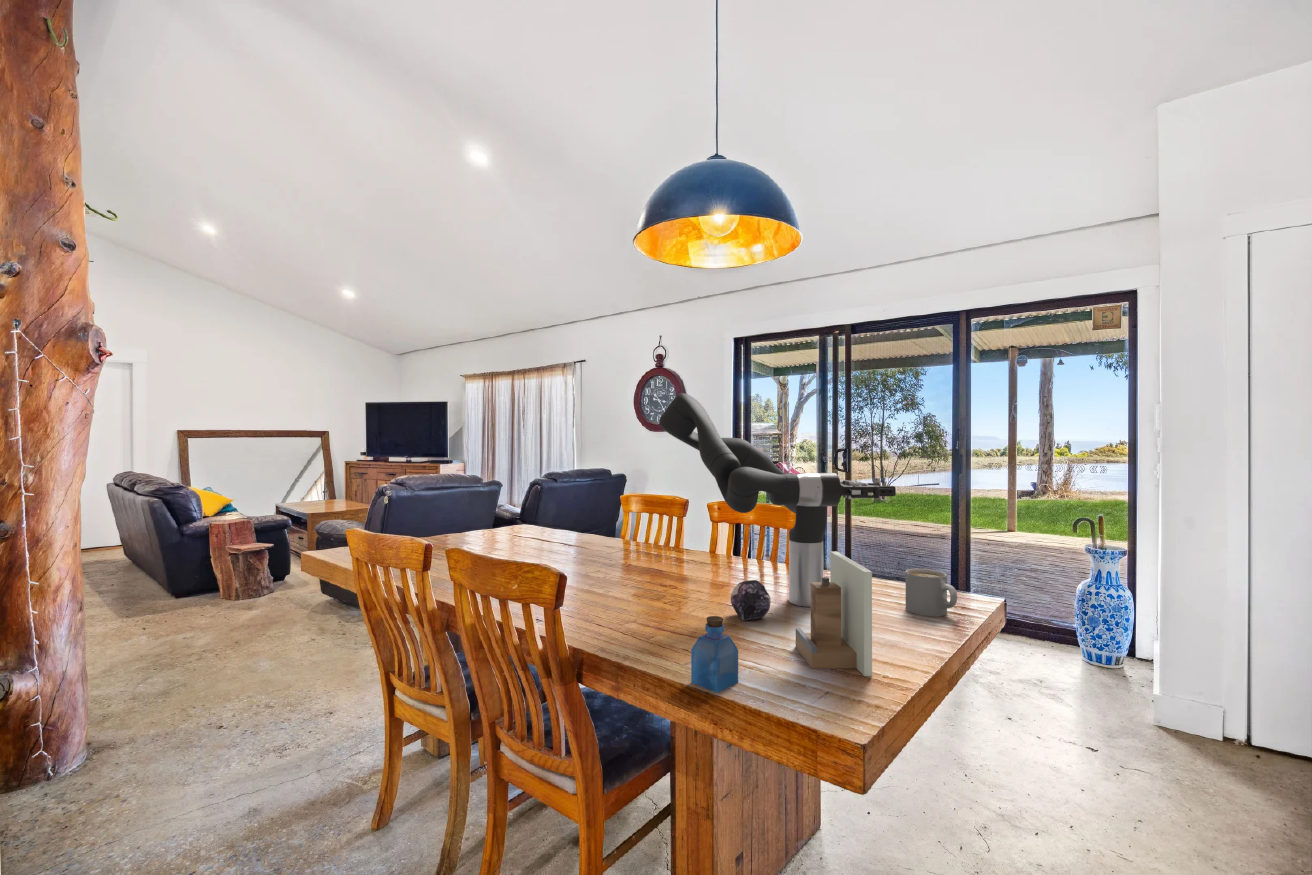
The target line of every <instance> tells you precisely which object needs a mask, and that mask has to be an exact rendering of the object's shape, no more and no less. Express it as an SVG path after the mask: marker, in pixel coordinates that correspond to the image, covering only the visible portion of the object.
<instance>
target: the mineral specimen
mask: <svg viewBox="0 0 1312 875" xmlns="http://www.w3.org/2000/svg"><path fill="white" fill-rule="evenodd" d="M771 603H772V601H771V596H770V594H769V592H768V591H767V589H766V587H765V586H764V584H763V583H761V581H759V580H758V579H755V580H754V579H753V580H744V581H741V582H738V583H737V585H736V586H734V588H733V590H732V592H731V594H730V604H731V607H732V608H733V610H734V611H735V614H737V616H738V618H739V619H740V620H742V621H743V622H744V621H752V620H753V621H754V620H758V619H759V620H760V619H762V618H764V617H765V616H766V615H767V614H768V612H769V611H770V609H771Z"/></svg>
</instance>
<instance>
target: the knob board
mask: <svg viewBox="0 0 1312 875" xmlns="http://www.w3.org/2000/svg"><path fill="white" fill-rule="evenodd" d="M810 633H811V640H812V641H813V642H814V644H815V645H816V646H841V587H840V586H838V585H837V584H836V583H834V582H830V577H828V576H823V577H822V582H811V607H810Z"/></svg>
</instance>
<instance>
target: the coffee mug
mask: <svg viewBox="0 0 1312 875" xmlns="http://www.w3.org/2000/svg"><path fill="white" fill-rule="evenodd" d="M948 592H949V594H950V599H949V600H950V601H948ZM957 602H958V592H957V590H956V588H955V587H954V586H953V585H951V584H948V575H947V573H946V572H944V571H941V570H936V569H928V568H910V569H906V570H905V610H906V611H907V612H908V613H912V614H915V615H918V616H924V617H942V616H943V617H944V616H946V615H948V614H947V613H948V609H952V608H955V606H956V604H957Z"/></svg>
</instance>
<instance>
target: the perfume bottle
mask: <svg viewBox="0 0 1312 875" xmlns="http://www.w3.org/2000/svg"><path fill="white" fill-rule="evenodd" d="M723 621H724V617H722V616H719V615H718V616H717V615H712V616H711V615H710V616H706V623H705V631H706V633H705V634H702V635H700V636H699V637H698V638H697V639H696V641H695V643H694V645H693V646H692V648H691V651H690V653H691V655H690V656H691V657H690V660H691V662H690V664H691V665H690V666H691V670H690V671H691V672H690V674H691V676H690V677H691V678H690V681H691V684H694V685H697V686H699V687H701V688H704V689H707V690H709V691H712V692H713V693H716V694H717V693H720V692H722V691H724V690H726V689H729V688H730V687H733V686H734V685H736V684H738V683H739V648H738V647H737V646H736V643H735V642H734V641H733V640H732V638H731V636H729V635H728V634H727V635H726V634H723V633H724V632H725V624H723Z"/></svg>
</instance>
